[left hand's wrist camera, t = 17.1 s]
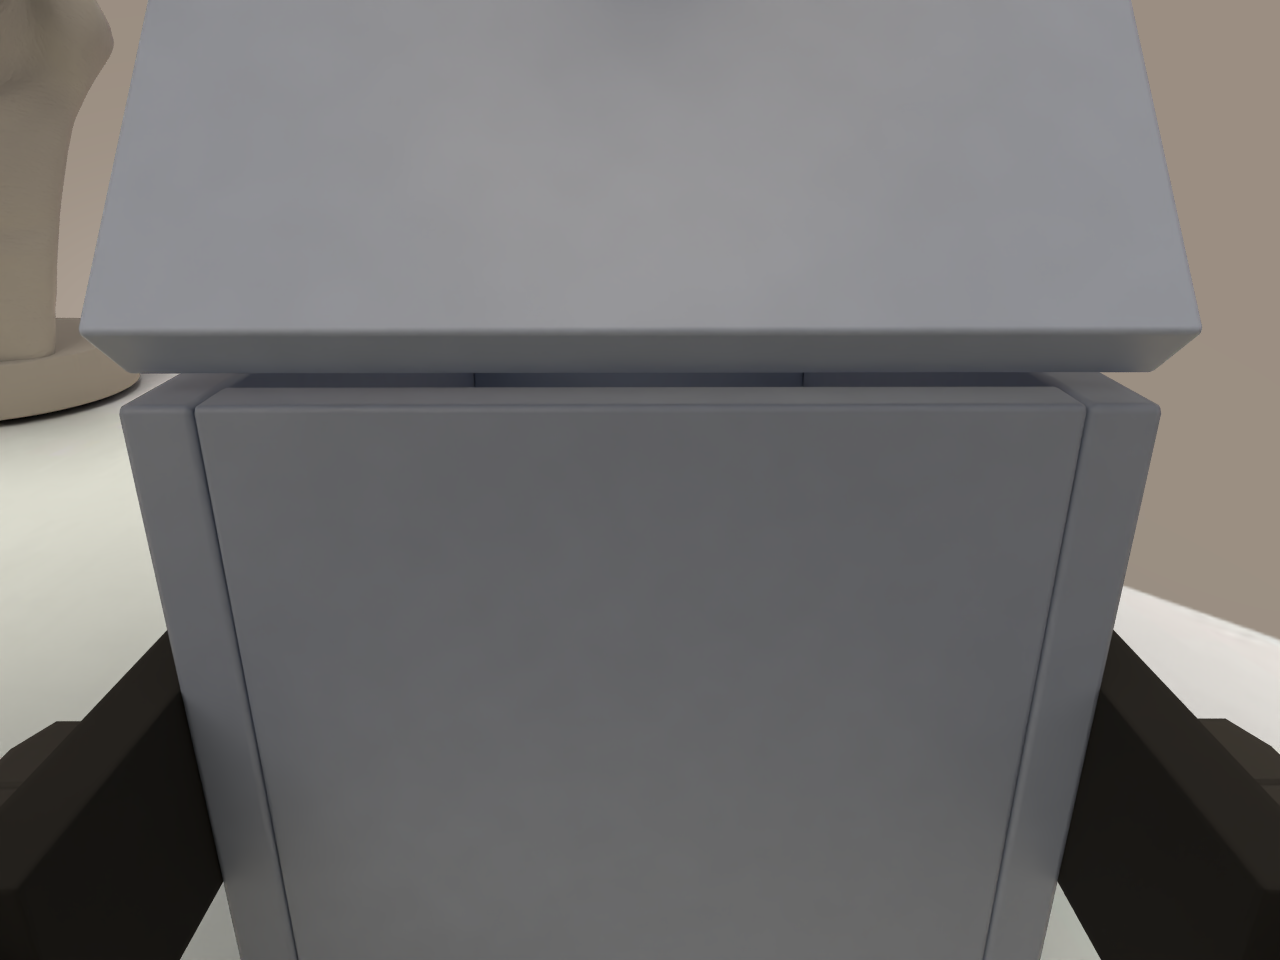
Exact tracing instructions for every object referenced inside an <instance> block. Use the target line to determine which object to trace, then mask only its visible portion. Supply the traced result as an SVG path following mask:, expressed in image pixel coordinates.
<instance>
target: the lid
mask: <svg viewBox="0 0 1280 960" xmlns="http://www.w3.org/2000/svg"><path fill="white" fill-rule="evenodd" d="M1201 330H1202V325H1201V320H1200V315H1199V311H1198V306H1197V302H1196V297H1195V292H1194V288H1193V283H1192V279H1191V274H1190V270H1189V265H1188V260H1187V256H1186V251H1185V247H1184V242H1183V237H1182V233H1181V228H1180V224H1179V219H1178V215H1177V210H1176V205H1175V201H1174V196H1173V192H1172V187H1171V182H1170V178H1169V173H1168V169H1167V164H1166V159H1165V155H1164V150H1163V146H1162V141H1161V137H1160V132H1159V127H1158V123H1157V118H1156V114H1155V109H1154V104H1153V100H1152V95H1151V91H1150V86H1149V81H1148V77H1147V72H1146V68H1145V63H1144V58H1143V54H1142V49H1141V45H1140V40H1139V35H1138V31H1137V26H1136V22H1135V17H1134V12H1133V8H1132V3H1131V0H148V4H147V9H146V14H145V18H144V23H143V28H142V32H141V37H140V42H139V47H138V51H137V56H136V61H135V65H134V70H133V75H132V79H131V84H130V89H129V93H128V98H127V103H126V108H125V112H124V117H123V122H122V126H121V131H120V136H119V141H118V145H117V150H116V155H115V159H114V164H113V169H112V174H111V178H110V183H109V188H108V193H107V197H106V202H105V207H104V211H103V216H102V221H101V225H100V230H99V235H98V239H97V244H96V249H95V254H94V258H93V263H92V268H91V272H90V277H89V282H88V286H87V291H86V296H85V301H84V305H83V310H82V315H81V319H80V324H79V333H80V335H81V336H82V337H84V338H85V339H86V340H87V341H89V342H90V343H91V344H92V345H94V346H95V347H96V348H97V349H99V350H100V351H101V352H102V353H104V354H105V355H106V356H107V357H109V358H110V359H111V360H112V361H114V362H115V363H116V364H117V365H119V366H120V367H121V368H122V369H124V370H125V371H126V372H129V373H818V372H1151V371H1153V370H1155V369H1156V368H1157V367H1159V366H1160V365H1161V364H1163V363H1164V362H1165V361H1166V360H1168V359H1169V358H1170V357H1171V356H1173V355H1174V354H1175V353H1176V352H1178V351H1179V350H1180V349H1181V348H1183V347H1184V346H1185V345H1186V344H1188V343H1189V342H1190V341H1192V340H1193V339H1194V338H1195V337H1197V336H1198V335H1199V334H1200V333H1201Z"/></svg>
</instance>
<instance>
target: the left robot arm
mask: <svg viewBox="0 0 1280 960" xmlns="http://www.w3.org/2000/svg"><path fill="white" fill-rule="evenodd" d="M222 883H223V877H222V873H221V868H220V864H219V859H218V855H217V850H216V846H215V841H214V837H213V832H212V828H211V823H210V819H209V814H208V810H207V805H206V801H205V796H204V792H203V788H202V783H201V779H200V774H199V770H198V765H197V761H196V756H195V752H194V747H193V743H192V738H191V734H190V729H189V725H188V720H187V716H186V711H185V707H184V702H183V698H182V693H181V689H180V684H179V680H178V675H177V671H176V666H175V662H174V657H173V653H172V648H171V644H170V639H169V635H168V630H167V631H166V632H165V633H164V634H163V635H162V636H161V637H160V638H159V639H158V640H157V642H156V643H155V644H154V645H153V646H152V647H151V648H150V649H149V650H148V651H147V652H146V653H145V654H144V655H143V656H142V657H141V658H140V660H139V661H138V662H137V663H136V664H135V665H134V666H133V667H132V668H131V669H130V670H129V671H128V672H127V673H126V674H125V675H124V676H123V677H122V679H121V680H120V681H119V682H118V683H117V684H116V685H115V686H114V687H113V688H112V689H111V690H110V691H109V692H108V693H107V694H106V695H105V697H104V698H103V699H102V700H101V701H100V702H99V703H98V704H97V705H96V706H95V707H94V708H93V709H92V710H91V711H90V712H89V713H88V714H87V716H86V717H85V718H84V719H83V720H82V721H56V722H55V723H53V724H52V725H50V726H48V727H47V728H45V729H43V730H42V731H40V732H38V733H37V734H35V735H33V736H32V737H30V738H28V739H27V740H25V741H24V742H22V743H20V744H19V745H17V746H15V747H14V748H12V749H10V750H9V751H8V752H7V753H6V754H5V755H4V756H3V757H2V758H1V759H0V960H180V958H181V957H182V955H183V953H184V951H185V949H186V948H187V946H188V944H189V942H190V940H191V939H192V937H193V935H194V933H195V931H196V930H197V928H198V926H199V924H200V922H201V921H202V919H203V917H204V915H205V913H206V912H207V910H208V908H209V906H210V904H211V903H212V901H213V899H214V897H215V895H216V894H217V892H218V890H219V888H220V886H221V885H222ZM1058 883H1059V885H1060V887H1061V888H1062V890H1063V892H1064V894H1065V896H1066V897H1067V899H1068V901H1069V903H1070V905H1071V906H1072V908H1073V910H1074V912H1075V914H1076V915H1077V917H1078V919H1079V921H1080V923H1081V924H1082V926H1083V928H1084V930H1085V932H1086V933H1087V935H1088V937H1089V939H1090V941H1091V942H1092V944H1093V946H1094V948H1095V950H1096V951H1097V953H1098V955H1099V957H1100V959H1101V960H1280V754H1279V753H1278V752H1277V751H1275V750H1274V749H1273V748H1272V747H1271V746H1270V745H1268V744H1266V743H1265V742H1263V741H1262V740H1260V739H1258V738H1257V737H1255V736H1253V735H1252V734H1250V733H1248V732H1247V731H1245V730H1243V729H1242V728H1240V727H1238V726H1237V725H1235V724H1233V723H1232V722H1230V721H1228V720H1227V719H1197V718H1196V717H1195V716H1194V715H1193V713H1192V712H1191V711H1190V710H1189V709H1188V708H1187V707H1186V706H1185V705H1184V704H1183V703H1182V702H1181V701H1180V700H1179V699H1178V698H1177V697H1176V696H1175V694H1174V693H1173V692H1172V691H1171V690H1170V689H1169V688H1168V687H1167V686H1166V685H1165V684H1164V683H1163V682H1162V681H1161V680H1160V679H1159V678H1158V676H1157V675H1156V674H1155V673H1154V672H1153V671H1152V670H1151V669H1150V668H1149V667H1148V666H1147V665H1146V664H1145V663H1144V662H1143V661H1142V660H1141V659H1140V657H1139V656H1138V655H1137V654H1136V653H1135V652H1134V651H1133V650H1132V649H1131V648H1130V647H1129V646H1128V645H1127V644H1126V643H1125V642H1124V641H1123V639H1122V638H1121V637H1120V636H1119V635H1118V634H1117V633H1116V632H1115V631H1114V630H1113V632H1112V637H1111V641H1110V646H1109V651H1108V655H1107V660H1106V664H1105V669H1104V673H1103V678H1102V682H1101V687H1100V691H1099V696H1098V700H1097V705H1096V709H1095V714H1094V718H1093V723H1092V727H1091V732H1090V736H1089V741H1088V745H1087V750H1086V754H1085V759H1084V763H1083V768H1082V772H1081V777H1080V781H1079V786H1078V790H1077V795H1076V800H1075V804H1074V809H1073V813H1072V818H1071V822H1070V827H1069V831H1068V836H1067V840H1066V845H1065V849H1064V854H1063V858H1062V863H1061V867H1060V872H1059V876H1058Z"/></svg>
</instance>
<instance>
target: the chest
mask: <svg viewBox="0 0 1280 960" xmlns="http://www.w3.org/2000/svg"><path fill="white" fill-rule="evenodd" d="M1160 416H1161V410H1160V407H1159V405H1157V404H1156V403H1154V402H1152V401H1150V400H1148V399H1147V398H1145V397H1143V396H1141V395H1139V394H1137V393H1136V392H1134V391H1132V390H1130V389H1128V388H1127V387H1125V386H1123V385H1121V384H1119V383H1118V382H1116V381H1114V380H1112V379H1110V378H1109V377H1107V376H1105V375H1103V374H1101V373H1100V372H818V373H181V374H179V375H177V376H175V377H174V378H172V379H170V380H168V381H166V382H165V383H163V384H161V385H159V386H158V387H156V388H154V389H152V390H150V391H149V392H147V393H145V394H143V395H142V396H140V397H138V398H136V399H134V400H133V401H131V402H129V403H127V404H126V405H124V406H122V407H121V409H120V419H121V424H122V428H123V433H124V437H125V442H126V446H127V451H128V455H129V460H130V464H131V469H132V473H133V478H134V482H135V487H136V491H137V496H138V500H139V505H140V509H141V514H142V518H143V523H144V527H145V532H146V536H147V541H148V545H149V550H150V554H151V559H152V563H153V568H154V572H155V577H156V581H157V585H158V590H159V594H160V599H161V603H162V608H163V612H164V617H165V621H166V626H167V630H168V635H169V639H170V644H171V648H172V653H173V657H174V662H175V666H176V671H177V675H178V680H179V684H180V689H181V693H182V698H183V702H184V707H185V711H186V716H187V720H188V725H189V729H190V734H191V738H192V743H193V747H194V752H195V756H196V761H197V765H198V770H199V774H200V779H201V783H202V788H203V792H204V796H205V801H206V805H207V810H208V814H209V819H210V823H211V828H212V832H213V837H214V841H215V846H216V850H217V855H218V859H219V864H220V868H221V873H222V877H223V882H224V886H225V891H226V895H227V900H228V904H229V909H230V913H231V918H232V922H233V927H234V931H235V936H236V940H237V945H238V949H239V954H240V958H241V960H1040V958H1041V953H1042V949H1043V944H1044V940H1045V935H1046V930H1047V926H1048V921H1049V917H1050V912H1051V908H1052V903H1053V899H1054V894H1055V890H1056V885H1057V881H1058V876H1059V872H1060V867H1061V863H1062V858H1063V854H1064V849H1065V845H1066V840H1067V836H1068V831H1069V827H1070V822H1071V818H1072V813H1073V809H1074V804H1075V800H1076V795H1077V790H1078V786H1079V781H1080V777H1081V772H1082V768H1083V763H1084V759H1085V754H1086V750H1087V745H1088V741H1089V736H1090V732H1091V727H1092V723H1093V718H1094V714H1095V709H1096V705H1097V700H1098V696H1099V691H1100V687H1101V682H1102V678H1103V673H1104V669H1105V664H1106V660H1107V655H1108V651H1109V646H1110V641H1111V637H1112V632H1113V628H1114V623H1115V619H1116V614H1117V610H1118V605H1119V601H1120V596H1121V592H1122V587H1123V583H1124V578H1125V574H1126V569H1127V565H1128V560H1129V555H1130V551H1131V547H1132V542H1133V538H1134V533H1135V529H1136V524H1137V520H1138V515H1139V510H1140V506H1141V501H1142V497H1143V492H1144V488H1145V483H1146V479H1147V474H1148V470H1149V465H1150V461H1151V456H1152V452H1153V447H1154V443H1155V438H1156V434H1157V429H1158V424H1159V420H1160Z"/></svg>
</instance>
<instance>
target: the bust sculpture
mask: <svg viewBox="0 0 1280 960" xmlns="http://www.w3.org/2000/svg"><path fill="white" fill-rule="evenodd" d="M113 45H114V41H113V37H112V32H111V28H110V26H109V23H108V21H107V19H106V17H105V15H104V13H103V11H102V10H101V8H100V6H99V4H98V3H97V1H96V0H0V420H7V419H14V418H20V417H26V416H32V415H38V414H43V413H48V412H53V411H58V410H62V409H67V408H71V407H75V406H79V405H83V404H86V403H90V402H93V401H97V400H100V399H103V398H106V397H108V396H111V395H114V394H116V393H119V392H121V391H123V390H125V389H127V388H129V387H130V386H132V385H133V384H134V383H136V382H137V381H138V379H139V377H140V373H129V372H126V371H125V370H124V369H122V368H121V367H120V366H119V365H117V364H116V363H115V362H114V361H112V360H111V359H110V358H109V357H107V356H106V355H105V354H104V353H102V352H101V351H100V350H99V349H97V348H96V347H95V346H94V345H92V344H91V343H90V342H89V341H87V340H86V339H85V338H84V337H82V336H81V335H80V333H79V324H80V319H81V318H55V306H56V295H57V253H58V237H59V221H60V209H61V199H62V191H63V184H64V176H65V169H66V162H67V155H68V148H69V143H70V138H71V133H72V128H73V125H74V121H75V119H76V116H77V114H78V112H79V110H80V108H81V106H82V103H83V101H84V99H85V97H86V95H87V93H88V91H89V89H90V88H91V86H92V84H93V82H94V80H95V79H96V77H97V76H98V74H99V73H100V71H101V70H102V68H103V66H104V65H105V64H106V62H107V60H108V59H109V57H110V55H111V53H112V50H113Z"/></svg>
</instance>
